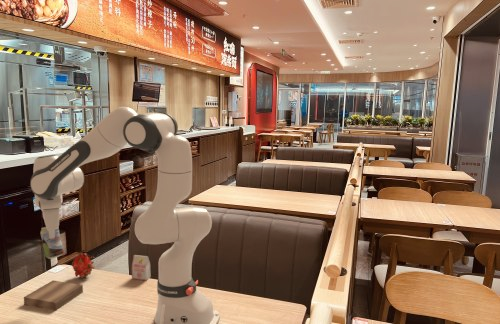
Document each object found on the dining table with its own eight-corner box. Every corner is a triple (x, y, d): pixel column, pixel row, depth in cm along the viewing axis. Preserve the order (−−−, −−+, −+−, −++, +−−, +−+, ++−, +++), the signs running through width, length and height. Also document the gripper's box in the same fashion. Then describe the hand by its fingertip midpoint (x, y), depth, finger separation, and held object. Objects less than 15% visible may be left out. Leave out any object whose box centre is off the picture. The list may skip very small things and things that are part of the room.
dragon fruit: (86, 282, 153) (85, 255, 151) (67, 281, 154) (66, 253, 152) (98, 274, 161) (96, 247, 160) (80, 272, 162) (78, 246, 161)
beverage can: (57, 260, 133) (54, 228, 132) (38, 260, 134) (35, 228, 133) (67, 254, 139) (65, 223, 138) (49, 253, 140) (47, 223, 139)
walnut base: (83, 293, 145) (82, 285, 145) (56, 311, 132) (55, 302, 131) (53, 288, 149) (53, 280, 148) (24, 306, 135) (23, 297, 135)
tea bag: (136, 275, 161) (136, 253, 160) (150, 276, 160) (150, 255, 158) (132, 278, 158) (131, 256, 156) (146, 280, 156) (145, 258, 155)
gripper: (37, 194, 142) (39, 228, 144) (40, 206, 125) (43, 245, 127) (55, 192, 145) (57, 226, 147) (61, 203, 128) (63, 242, 130)
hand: (51, 235), depth 137 cm, fingers closed on beverage can, 5 cm apart
